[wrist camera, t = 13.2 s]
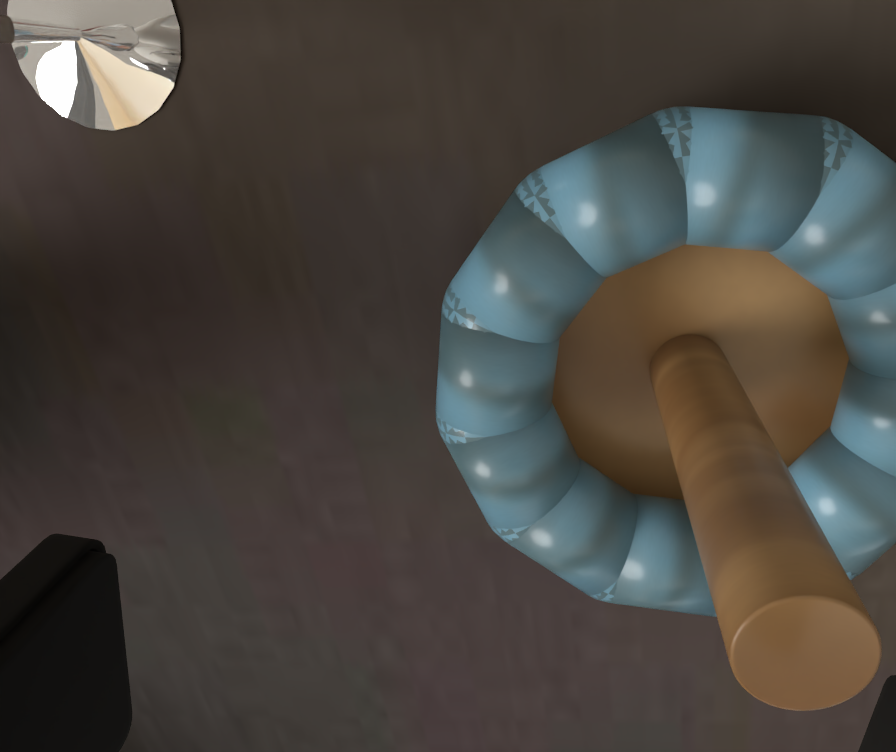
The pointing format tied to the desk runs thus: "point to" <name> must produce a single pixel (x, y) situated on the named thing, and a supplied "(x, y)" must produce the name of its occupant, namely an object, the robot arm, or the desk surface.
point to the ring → (631, 243)
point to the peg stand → (728, 449)
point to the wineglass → (96, 56)
